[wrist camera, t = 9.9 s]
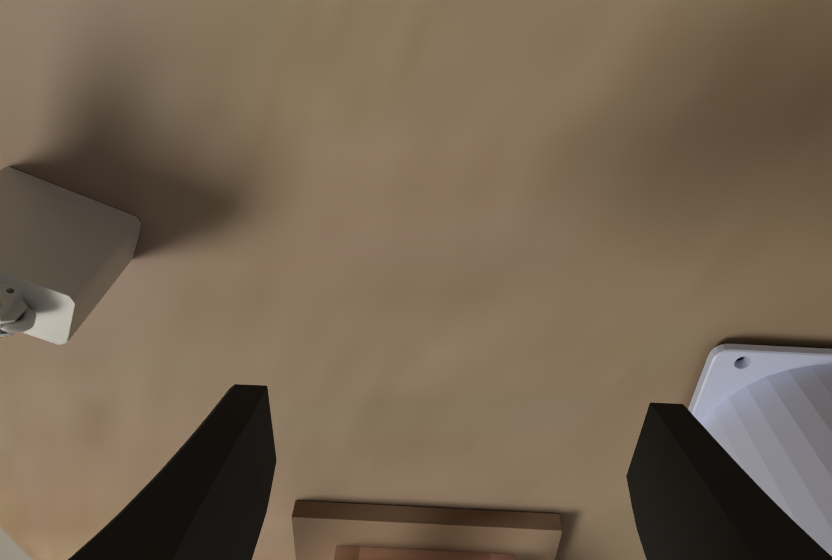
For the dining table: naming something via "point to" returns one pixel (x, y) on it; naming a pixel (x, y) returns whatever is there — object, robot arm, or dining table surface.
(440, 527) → the base plate
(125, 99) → the dining table surface
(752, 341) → the dining table surface
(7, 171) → the lighter
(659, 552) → the robot arm
